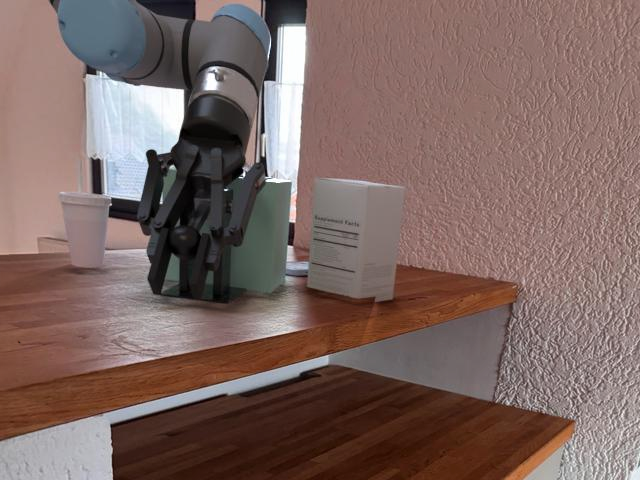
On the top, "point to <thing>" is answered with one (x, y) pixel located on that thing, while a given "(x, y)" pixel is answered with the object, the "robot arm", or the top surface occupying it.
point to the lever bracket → (221, 276)
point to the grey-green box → (252, 238)
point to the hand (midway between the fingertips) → (174, 289)
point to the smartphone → (297, 268)
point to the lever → (191, 228)
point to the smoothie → (85, 224)
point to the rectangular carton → (355, 238)
